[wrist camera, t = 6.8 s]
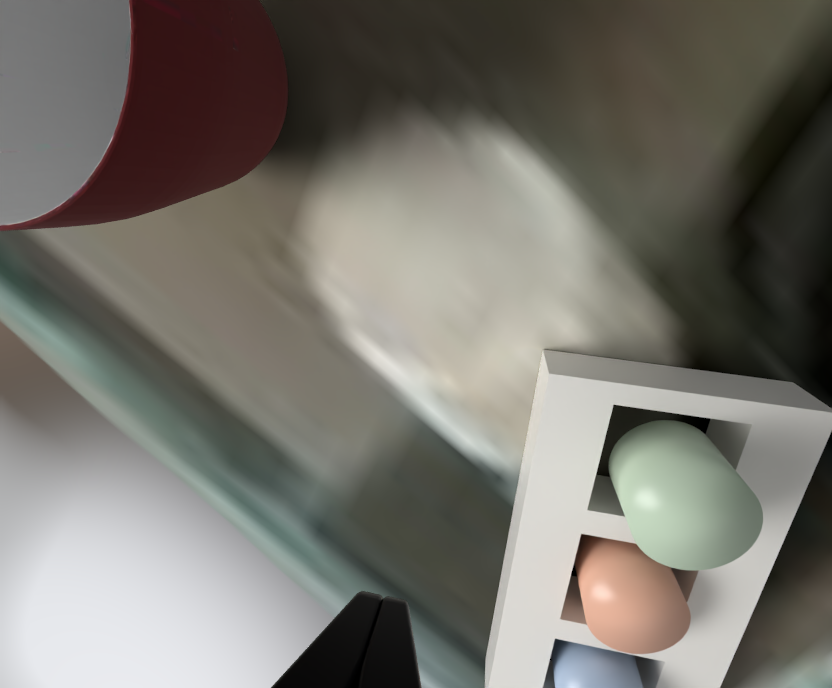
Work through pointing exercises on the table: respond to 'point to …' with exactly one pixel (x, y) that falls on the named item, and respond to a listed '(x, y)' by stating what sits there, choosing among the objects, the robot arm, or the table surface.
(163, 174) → the mug
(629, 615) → the terracotta button
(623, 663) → the slate button
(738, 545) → the sage button
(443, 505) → the table surface
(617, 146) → the table surface
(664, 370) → the panel
